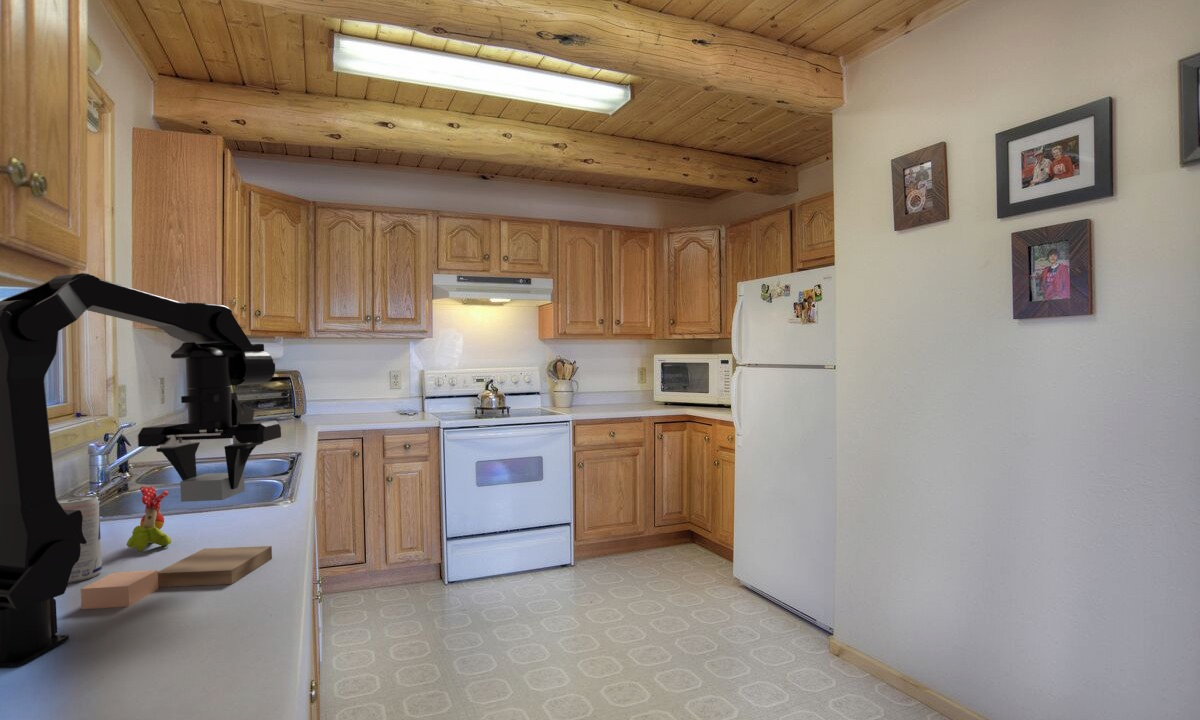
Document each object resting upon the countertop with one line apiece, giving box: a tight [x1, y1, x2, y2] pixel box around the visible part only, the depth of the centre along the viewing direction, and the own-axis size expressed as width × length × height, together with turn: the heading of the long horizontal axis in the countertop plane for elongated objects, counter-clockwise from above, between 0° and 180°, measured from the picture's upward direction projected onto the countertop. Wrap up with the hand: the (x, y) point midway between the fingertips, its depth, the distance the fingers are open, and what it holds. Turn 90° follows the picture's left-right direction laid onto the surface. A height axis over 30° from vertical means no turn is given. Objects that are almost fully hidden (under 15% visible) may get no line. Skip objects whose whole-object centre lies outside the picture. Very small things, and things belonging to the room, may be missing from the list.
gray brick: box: [179, 471, 245, 503], centre depth 94 cm, size 6×6×3 cm
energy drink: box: [57, 494, 103, 584], centre depth 93 cm, size 5×5×12 cm
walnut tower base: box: [158, 545, 273, 588], centre depth 94 cm, size 11×11×2 cm
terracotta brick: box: [80, 569, 159, 610], centre depth 84 cm, size 6×6×3 cm
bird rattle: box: [125, 486, 172, 552], centre depth 109 cm, size 6×11×9 cm
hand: (213, 489), depth 94 cm, fingers closed on gray brick, 6 cm apart
